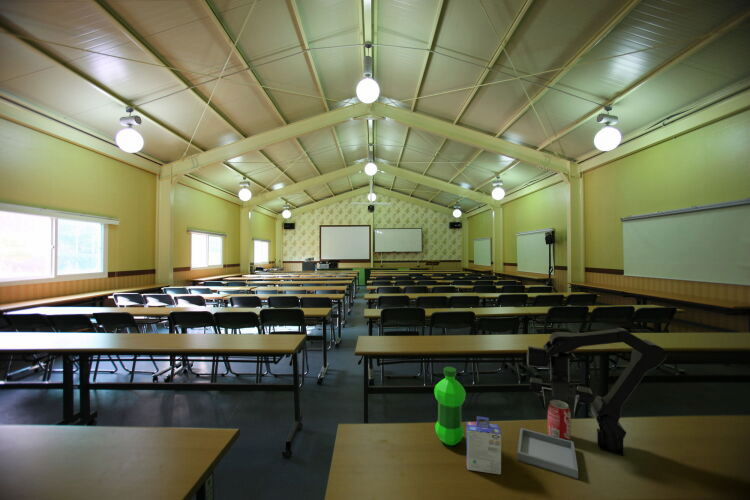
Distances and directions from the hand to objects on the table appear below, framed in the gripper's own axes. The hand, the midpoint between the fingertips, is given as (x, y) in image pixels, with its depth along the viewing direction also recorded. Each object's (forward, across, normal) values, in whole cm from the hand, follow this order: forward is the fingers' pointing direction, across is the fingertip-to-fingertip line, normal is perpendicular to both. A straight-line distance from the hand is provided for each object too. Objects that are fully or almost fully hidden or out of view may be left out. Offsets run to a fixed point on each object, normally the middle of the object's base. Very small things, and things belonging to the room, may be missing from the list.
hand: (559, 413), depth 107 cm
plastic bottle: (+9, -34, -21) cm, 40 cm away
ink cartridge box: (+9, -21, -28) cm, 36 cm away
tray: (+9, -4, -12) cm, 16 cm away
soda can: (+9, 0, 0) cm, 9 cm away
